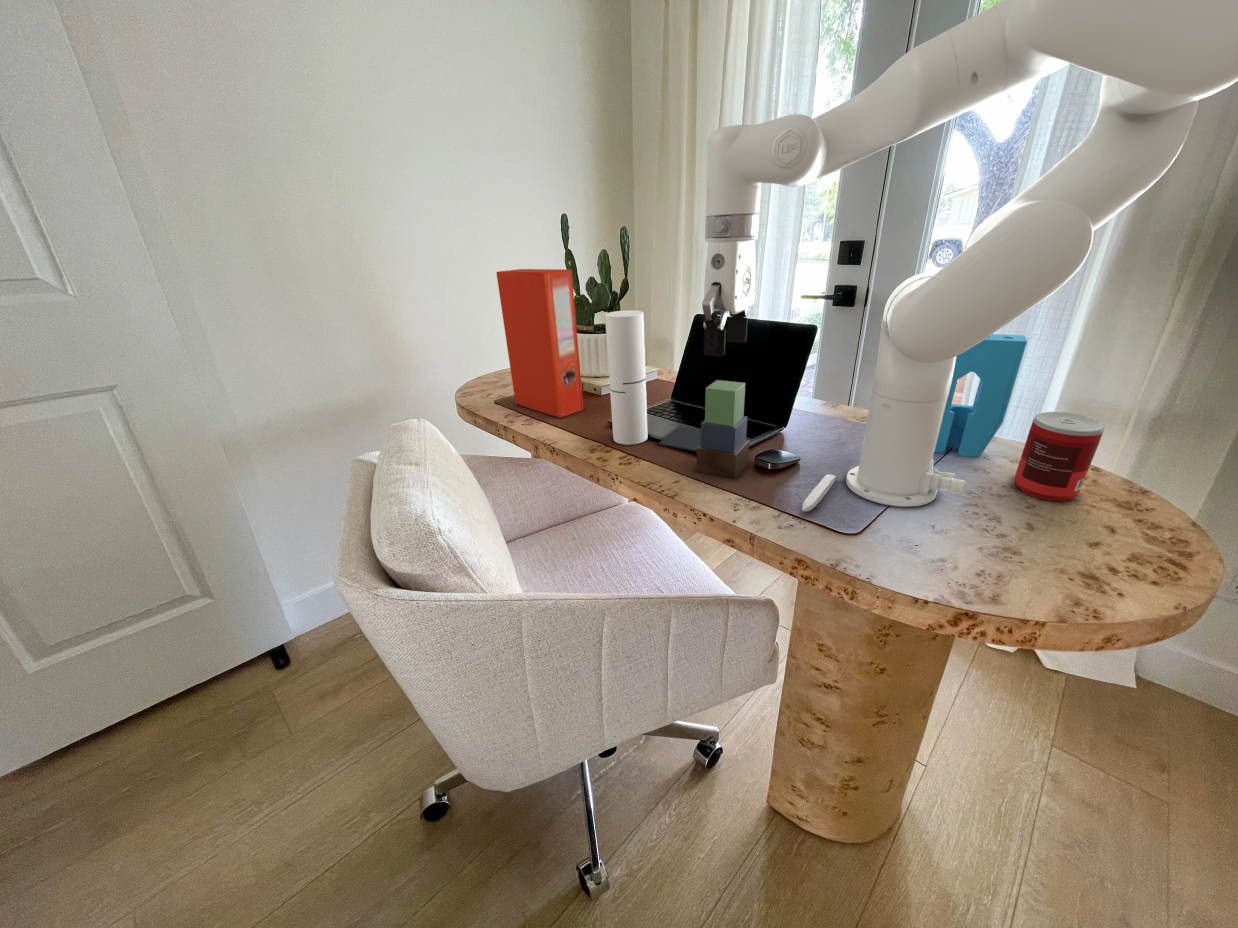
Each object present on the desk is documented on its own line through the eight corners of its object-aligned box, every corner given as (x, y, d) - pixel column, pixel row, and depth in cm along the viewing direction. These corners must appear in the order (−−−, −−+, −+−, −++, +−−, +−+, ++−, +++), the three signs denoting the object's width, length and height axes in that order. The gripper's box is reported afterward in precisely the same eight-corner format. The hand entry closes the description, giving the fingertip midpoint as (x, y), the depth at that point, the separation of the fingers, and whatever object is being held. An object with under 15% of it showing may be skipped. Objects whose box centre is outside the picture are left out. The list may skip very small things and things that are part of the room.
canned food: (1061, 478, 76) (1086, 412, 72) (1089, 504, 69) (1119, 432, 65) (1003, 475, 78) (1024, 410, 74) (1026, 500, 72) (1050, 430, 67)
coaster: (724, 435, 100) (724, 433, 100) (705, 453, 92) (705, 451, 92) (679, 427, 105) (679, 426, 105) (658, 445, 97) (658, 443, 97)
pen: (796, 516, 71) (797, 506, 70) (827, 478, 81) (828, 469, 80) (807, 519, 70) (808, 509, 69) (837, 481, 80) (838, 472, 79)
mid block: (746, 440, 86) (747, 416, 84) (734, 453, 81) (735, 428, 79) (713, 435, 89) (714, 411, 87) (700, 447, 84) (700, 423, 82)
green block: (743, 416, 84) (745, 382, 81) (733, 426, 80) (735, 391, 77) (715, 413, 86) (716, 379, 84) (704, 422, 82) (705, 388, 80)
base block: (748, 462, 88) (749, 439, 86) (734, 479, 83) (736, 455, 81) (711, 456, 91) (712, 433, 89) (696, 471, 86) (696, 448, 84)
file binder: (540, 396, 131) (523, 268, 117) (584, 408, 120) (571, 269, 106) (515, 405, 126) (495, 272, 112) (559, 418, 115) (542, 272, 101)
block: (990, 448, 87) (1024, 335, 79) (992, 459, 83) (1028, 341, 75) (913, 438, 93) (937, 331, 84) (912, 448, 89) (936, 337, 81)
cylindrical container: (648, 443, 98) (643, 315, 87) (612, 445, 99) (604, 317, 88) (647, 430, 105) (642, 309, 94) (613, 432, 105) (605, 311, 94)
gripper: (735, 231, 62) (729, 363, 70) (774, 227, 75) (765, 339, 83) (681, 233, 66) (681, 359, 73) (727, 229, 79) (723, 336, 86)
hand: (725, 348), depth 78 cm, fingers open, 9 cm apart
